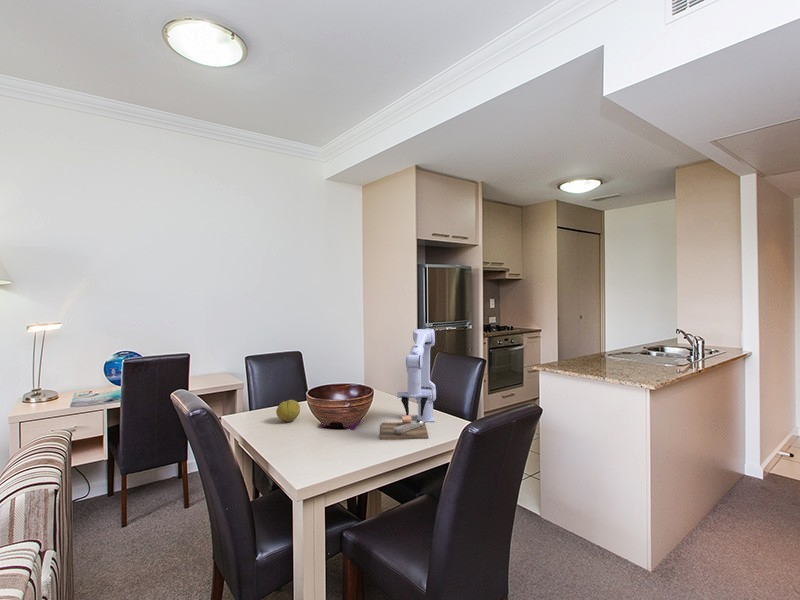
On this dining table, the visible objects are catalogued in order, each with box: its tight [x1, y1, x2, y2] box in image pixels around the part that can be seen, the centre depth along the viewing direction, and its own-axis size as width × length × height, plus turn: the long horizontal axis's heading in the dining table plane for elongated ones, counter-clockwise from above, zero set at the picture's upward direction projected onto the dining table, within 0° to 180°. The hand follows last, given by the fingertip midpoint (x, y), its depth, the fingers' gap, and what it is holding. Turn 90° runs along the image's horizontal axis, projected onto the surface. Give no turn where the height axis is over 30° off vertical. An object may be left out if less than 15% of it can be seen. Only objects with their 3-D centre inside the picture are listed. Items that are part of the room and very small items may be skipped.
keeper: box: [401, 414, 421, 425], centre depth 187 cm, size 9×7×4 cm
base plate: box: [380, 421, 429, 440], centre depth 182 cm, size 20×20×1 cm
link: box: [393, 419, 424, 434], centre depth 181 cm, size 17×4×2 cm, turn 136°
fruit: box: [275, 399, 301, 423], centre depth 198 cm, size 11×12×10 cm
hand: (414, 415), depth 173 cm, fingers open, 5 cm apart
